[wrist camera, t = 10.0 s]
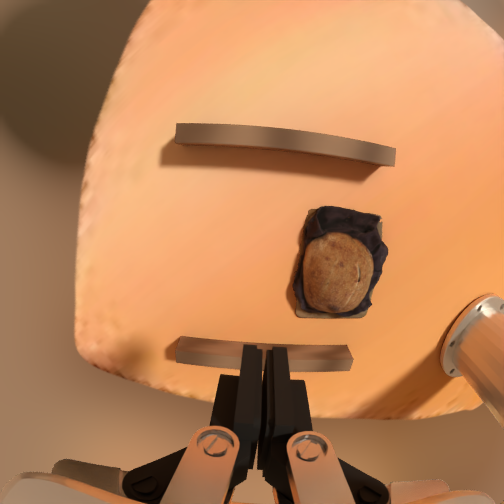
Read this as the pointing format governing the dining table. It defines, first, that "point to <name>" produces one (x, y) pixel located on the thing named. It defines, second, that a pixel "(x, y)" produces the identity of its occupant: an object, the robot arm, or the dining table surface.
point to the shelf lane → (291, 141)
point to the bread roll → (338, 263)
